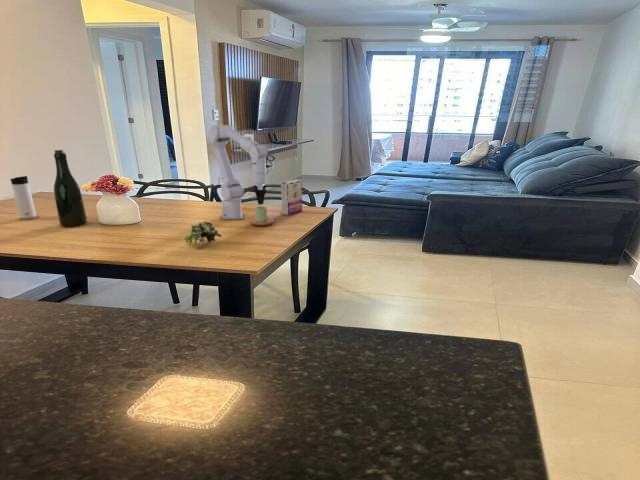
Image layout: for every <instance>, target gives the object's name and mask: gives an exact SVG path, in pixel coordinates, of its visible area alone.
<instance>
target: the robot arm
mask: <svg viewBox="0 0 640 480" xmlns="http://www.w3.org/2000/svg"><path fill="white" fill-rule="evenodd" d="M208 137H209V140H210V143H211V146H212V149H213V152H214V156H215V159H216V161H217V164H218V168H219V170H220V174H221V177H222V180H223V182H222V184H221V185H220V189H221V196H222V198H223V199H221V216H222V220H242V219H243V218H244V213H243V212H242V211H243V209H242V199H243V197H244V196H245V189H244V187H243V186H242V183H241V182H240V180H238V179H237V178H236V177H235V174H234V172H233V168H232V165H231V162H230V159H229V156H228V153H227V152H228V151H227V150H226V145H227V144H228V143H229V141H230V140H231V141H234V142H236V143H238V144H239V147H240V148H241V149H242V150H244V151H245V152H247V153H248V154H249V156H250V158H251V163H252V177H253V179H252V181H253V183H252V185H253V192H254V194H255V196H256V200H257V205H264V202H265V196H266V193H267V191H268V189H267V188H266V187H267V185H269V184H270V182H269V181H267V162H266V158H267V157H268V156H269V148H268V147H267V146H266V145H265V144H263V143H261V144H259V142H258V141H255V140H253V139H252V137H251V136H243V135H241V133H239V132H238V131H237V130H235V129H234V126H231V125H230V124H217V125H216V124H211V126H209V129H208Z"/></svg>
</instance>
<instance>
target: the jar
mask: <svg viewBox="0 0 640 480" xmlns="http://www.w3.org/2000/svg"><path fill="white" fill-rule="evenodd" d="M254 208H255V209H254V210H255V218H256V221H258V222H264V221H267V217H268V214H267V213H268V211H267V206H264V205H263V206H262V205H261V206H255V207H254Z"/></svg>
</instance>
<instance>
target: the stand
mask: <svg viewBox="0 0 640 480" xmlns="http://www.w3.org/2000/svg"><path fill="white" fill-rule="evenodd" d="M248 222H249V224H250V225H254V226H259V227H260V226H262V227H265V226H267V225H271V224H273V223H274V219H273V218H272V217H268V216H267V221H264V222H258V221H256V217H253V218H250V219H249V221H248Z"/></svg>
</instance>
